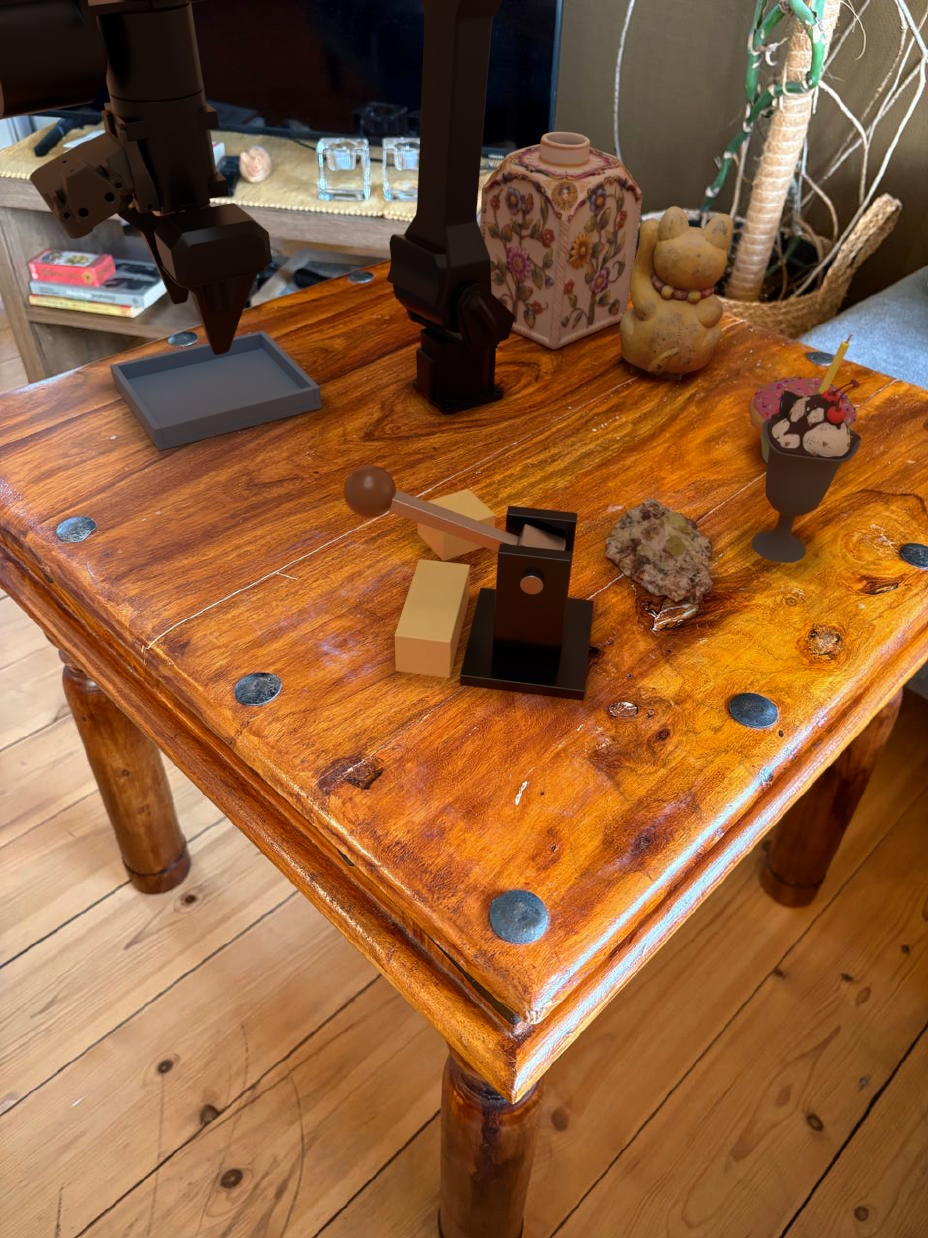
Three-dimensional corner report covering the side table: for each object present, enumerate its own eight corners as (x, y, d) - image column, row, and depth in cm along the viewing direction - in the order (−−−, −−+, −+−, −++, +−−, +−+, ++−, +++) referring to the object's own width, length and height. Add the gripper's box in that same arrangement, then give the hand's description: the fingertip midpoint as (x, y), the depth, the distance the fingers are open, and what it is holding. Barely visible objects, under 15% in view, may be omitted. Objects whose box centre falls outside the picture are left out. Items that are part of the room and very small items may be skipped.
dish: (266, 349, 99) (263, 329, 97) (321, 408, 90) (320, 387, 89) (114, 385, 93) (109, 364, 91) (158, 451, 84) (154, 429, 83)
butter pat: (467, 519, 78) (468, 487, 76) (494, 546, 75) (495, 514, 73) (417, 536, 76) (416, 504, 74) (443, 564, 74) (443, 532, 72)
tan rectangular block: (419, 597, 71) (418, 558, 68) (469, 603, 70) (470, 564, 68) (395, 674, 65) (394, 635, 62) (450, 681, 64) (450, 642, 62)
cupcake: (847, 448, 87) (888, 318, 79) (831, 497, 81) (874, 362, 73) (750, 425, 90) (780, 297, 82) (727, 471, 84) (758, 338, 76)
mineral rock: (583, 506, 75) (682, 470, 76) (591, 546, 79) (686, 512, 79) (635, 598, 68) (745, 558, 68) (642, 639, 71) (747, 601, 71)
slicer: (459, 688, 64) (462, 569, 57) (479, 599, 71) (484, 484, 64) (583, 704, 63) (600, 585, 57) (592, 613, 70) (608, 497, 63)
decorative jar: (473, 314, 106) (478, 134, 94) (549, 286, 112) (562, 112, 100) (555, 354, 99) (571, 165, 87) (630, 321, 105) (655, 140, 94)
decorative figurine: (713, 355, 100) (744, 202, 90) (714, 395, 94) (748, 236, 84) (617, 346, 101) (637, 194, 91) (612, 385, 95) (633, 226, 85)
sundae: (826, 582, 73) (888, 399, 63) (733, 569, 74) (779, 387, 64) (820, 530, 78) (877, 353, 68) (733, 519, 79) (776, 342, 69)
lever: (332, 516, 60) (345, 476, 58) (345, 487, 62) (358, 447, 60) (545, 597, 62) (565, 560, 59) (550, 565, 64) (569, 529, 62)
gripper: (-8, 70, 64) (56, 300, 75) (58, 151, 52) (123, 412, 63) (160, 50, 68) (199, 272, 79) (258, 121, 56) (288, 371, 67)
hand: (199, 326), depth 72 cm, fingers open, 9 cm apart
